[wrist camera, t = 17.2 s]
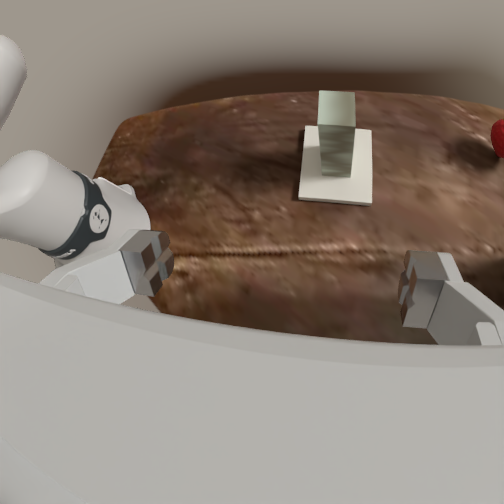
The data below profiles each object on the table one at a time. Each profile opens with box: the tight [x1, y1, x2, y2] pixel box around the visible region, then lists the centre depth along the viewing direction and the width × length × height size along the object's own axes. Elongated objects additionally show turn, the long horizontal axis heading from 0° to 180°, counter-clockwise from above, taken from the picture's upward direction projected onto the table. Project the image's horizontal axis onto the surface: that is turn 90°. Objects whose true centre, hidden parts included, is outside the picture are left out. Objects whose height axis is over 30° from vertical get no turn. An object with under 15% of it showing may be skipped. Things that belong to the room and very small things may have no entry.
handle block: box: [318, 91, 355, 178], centre depth 36 cm, size 4×5×12 cm
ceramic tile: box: [298, 126, 372, 206], centre depth 42 cm, size 10×12×1 cm
